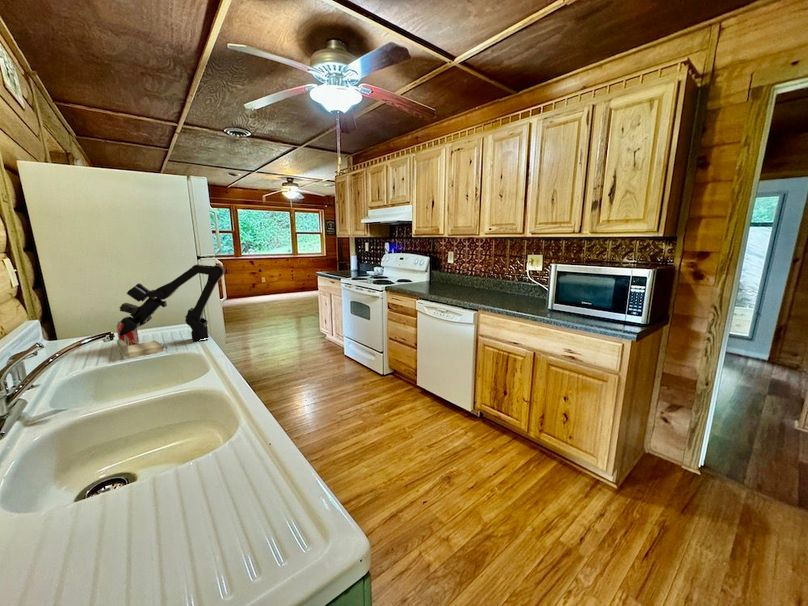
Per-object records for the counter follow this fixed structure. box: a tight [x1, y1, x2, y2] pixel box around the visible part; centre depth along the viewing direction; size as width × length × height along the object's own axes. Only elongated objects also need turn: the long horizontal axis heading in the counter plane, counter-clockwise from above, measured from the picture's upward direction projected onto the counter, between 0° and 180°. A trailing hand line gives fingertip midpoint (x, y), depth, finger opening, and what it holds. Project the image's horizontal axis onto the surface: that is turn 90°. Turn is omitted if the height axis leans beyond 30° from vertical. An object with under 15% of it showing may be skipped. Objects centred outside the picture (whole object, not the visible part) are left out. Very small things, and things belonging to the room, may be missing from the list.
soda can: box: [116, 321, 140, 346], centre depth 153 cm, size 7×7×12 cm
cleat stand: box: [116, 339, 164, 360], centre depth 145 cm, size 14×12×6 cm
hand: (123, 333), depth 152 cm, fingers closed on soda can, 7 cm apart
